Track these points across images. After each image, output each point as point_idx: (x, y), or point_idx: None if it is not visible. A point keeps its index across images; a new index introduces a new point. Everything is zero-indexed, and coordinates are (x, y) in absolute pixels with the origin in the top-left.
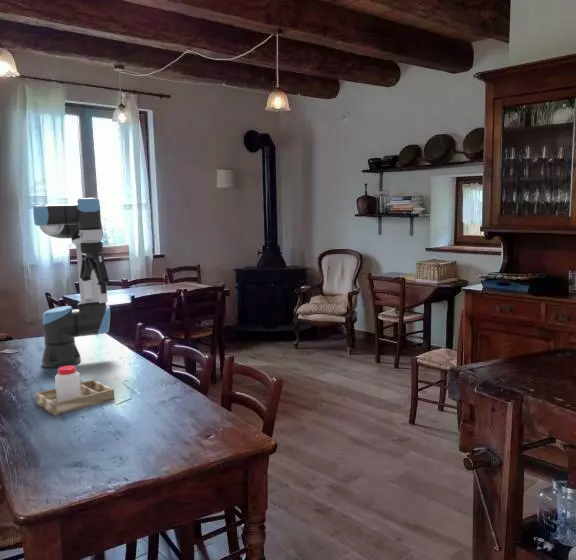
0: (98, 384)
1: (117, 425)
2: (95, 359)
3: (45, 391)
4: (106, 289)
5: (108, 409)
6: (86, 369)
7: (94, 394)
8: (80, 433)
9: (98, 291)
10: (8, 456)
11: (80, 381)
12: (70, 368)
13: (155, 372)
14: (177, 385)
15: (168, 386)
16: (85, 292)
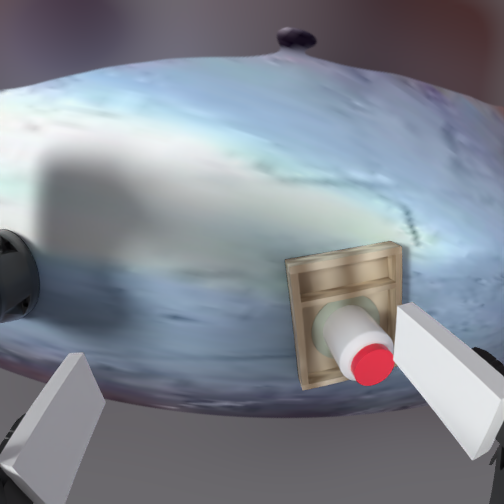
0: (335, 265)
1: (488, 272)
2: (11, 193)
3: (305, 374)
4: (480, 358)
5: (429, 267)
6: (82, 234)
7: (401, 291)
8: (475, 324)
9: (440, 416)
10: None
11: (372, 322)
12: (389, 361)
13: (236, 75)
14: (384, 85)
15: (380, 104)
16: (88, 431)
